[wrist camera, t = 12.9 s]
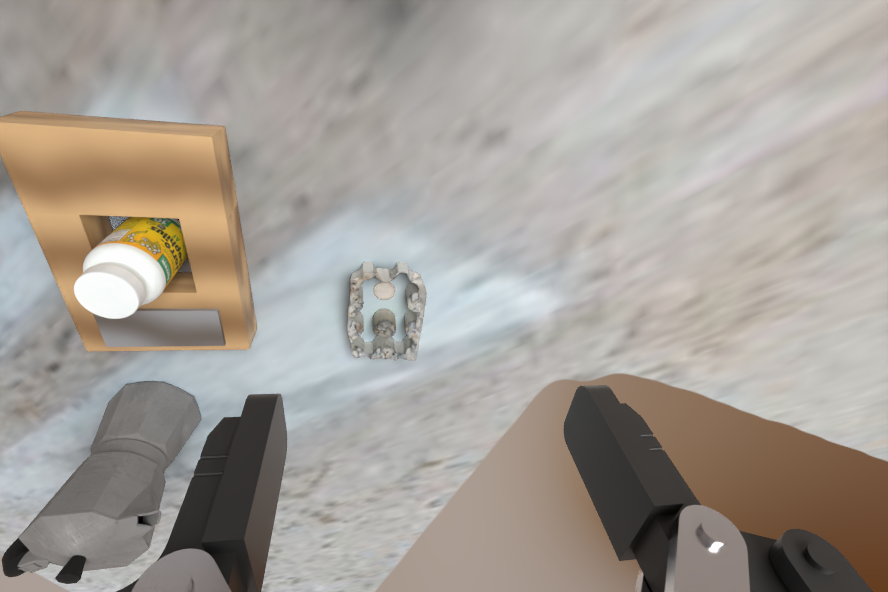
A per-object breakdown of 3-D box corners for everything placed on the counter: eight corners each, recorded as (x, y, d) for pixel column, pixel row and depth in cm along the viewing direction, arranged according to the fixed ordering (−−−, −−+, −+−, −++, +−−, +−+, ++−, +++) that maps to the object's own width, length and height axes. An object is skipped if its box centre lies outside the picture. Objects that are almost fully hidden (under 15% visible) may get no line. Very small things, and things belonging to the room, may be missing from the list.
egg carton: (350, 256, 42) (348, 277, 39) (425, 260, 44) (430, 281, 41) (347, 341, 48) (345, 366, 45) (414, 343, 50) (417, 367, 46)
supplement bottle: (111, 221, 37) (40, 278, 29) (167, 199, 37) (110, 251, 29) (154, 271, 40) (100, 336, 32) (206, 251, 40) (165, 312, 32)
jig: (20, 111, 32) (-19, 122, 29) (224, 126, 34) (209, 138, 31) (105, 328, 43) (84, 354, 39) (257, 327, 45) (248, 352, 42)
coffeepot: (182, 361, 46) (93, 528, 31) (234, 415, 51) (180, 580, 36) (55, 408, 47) (-90, 592, 32) (119, 456, 52) (20, 633, 37)
